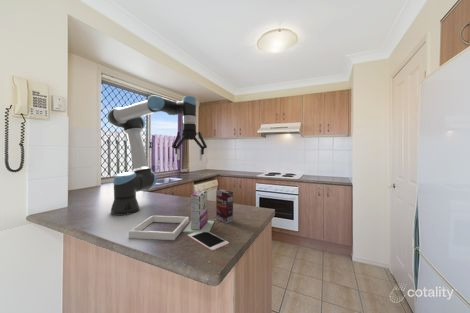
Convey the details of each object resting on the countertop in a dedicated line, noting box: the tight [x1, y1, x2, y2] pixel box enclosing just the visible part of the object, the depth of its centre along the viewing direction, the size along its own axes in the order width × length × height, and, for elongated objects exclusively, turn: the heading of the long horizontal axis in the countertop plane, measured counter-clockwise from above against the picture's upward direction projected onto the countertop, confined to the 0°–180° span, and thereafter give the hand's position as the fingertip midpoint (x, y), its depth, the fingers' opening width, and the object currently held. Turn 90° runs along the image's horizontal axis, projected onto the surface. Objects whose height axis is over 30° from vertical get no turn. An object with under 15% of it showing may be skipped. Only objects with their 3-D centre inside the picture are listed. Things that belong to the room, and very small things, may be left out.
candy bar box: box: [190, 189, 209, 230], centre depth 97 cm, size 11×5×16 cm, turn 170°
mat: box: [182, 220, 215, 234], centre depth 97 cm, size 12×14×1 cm
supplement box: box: [215, 189, 234, 224], centre depth 106 cm, size 9×5×16 cm, turn 47°
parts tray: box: [128, 215, 190, 241], centre depth 94 cm, size 20×20×3 cm
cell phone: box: [187, 232, 230, 252], centre depth 84 cm, size 9×18×1 cm, turn 44°
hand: (189, 160), depth 116 cm, fingers open, 13 cm apart
